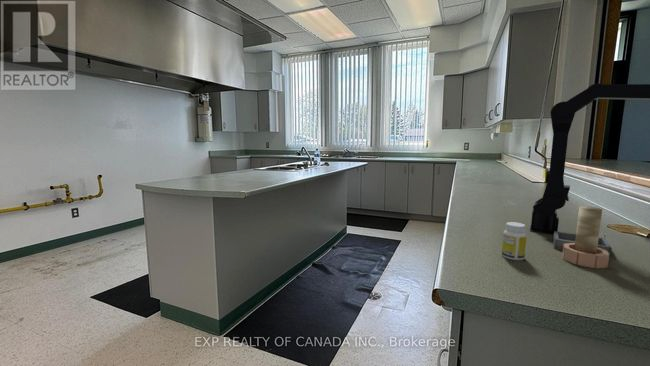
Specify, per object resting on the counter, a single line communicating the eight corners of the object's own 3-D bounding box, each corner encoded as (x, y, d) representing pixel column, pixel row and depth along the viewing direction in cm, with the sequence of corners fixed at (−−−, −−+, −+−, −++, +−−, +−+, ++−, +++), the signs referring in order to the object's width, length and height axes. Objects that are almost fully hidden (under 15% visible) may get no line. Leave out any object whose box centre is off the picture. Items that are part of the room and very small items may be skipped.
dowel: (573, 261, 70) (580, 208, 69) (572, 256, 74) (578, 205, 72) (596, 265, 68) (603, 210, 66) (593, 260, 71) (600, 207, 69)
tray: (554, 248, 79) (555, 239, 79) (553, 239, 86) (554, 230, 86) (610, 257, 73) (611, 247, 72) (604, 247, 80) (605, 238, 80)
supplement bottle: (521, 254, 75) (524, 222, 74) (526, 261, 70) (530, 227, 69) (499, 252, 76) (502, 220, 75) (504, 259, 72) (507, 225, 71)
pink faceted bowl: (563, 262, 70) (564, 250, 70) (561, 252, 76) (563, 241, 76) (609, 271, 65) (611, 258, 65) (603, 259, 72) (605, 247, 71)
